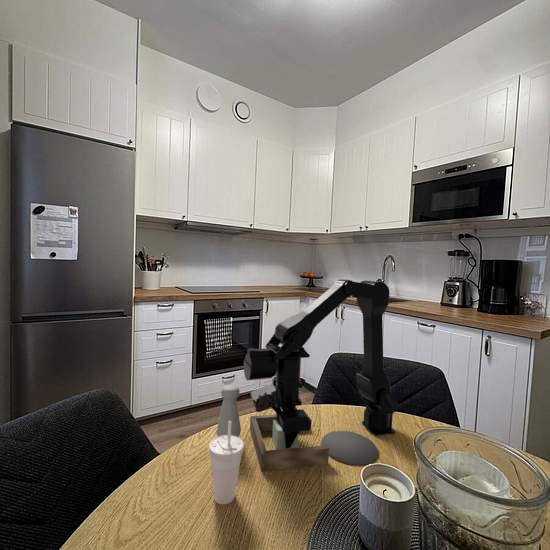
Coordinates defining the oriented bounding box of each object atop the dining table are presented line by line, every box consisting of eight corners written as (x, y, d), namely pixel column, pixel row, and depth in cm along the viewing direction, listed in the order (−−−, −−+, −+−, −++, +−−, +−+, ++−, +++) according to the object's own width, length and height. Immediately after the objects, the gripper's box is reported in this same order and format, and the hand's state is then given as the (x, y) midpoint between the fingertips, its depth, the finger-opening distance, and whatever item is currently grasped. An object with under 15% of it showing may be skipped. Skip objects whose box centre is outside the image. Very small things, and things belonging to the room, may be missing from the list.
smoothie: (226, 516, 51) (229, 434, 51) (198, 499, 55) (201, 422, 55) (249, 493, 57) (252, 418, 57) (222, 479, 60) (225, 409, 60)
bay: (304, 425, 83) (305, 412, 82) (328, 464, 67) (329, 448, 66) (249, 429, 79) (250, 416, 79) (260, 471, 63) (261, 454, 63)
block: (291, 438, 76) (292, 418, 76) (297, 450, 71) (298, 429, 71) (272, 440, 75) (273, 420, 75) (276, 452, 70) (277, 431, 70)
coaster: (360, 431, 81) (360, 429, 81) (389, 461, 68) (389, 459, 68) (313, 434, 78) (313, 432, 78) (334, 467, 65) (334, 465, 65)
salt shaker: (238, 448, 71) (240, 392, 71) (213, 446, 71) (216, 391, 71) (241, 434, 77) (244, 382, 76) (218, 433, 77) (221, 381, 77)
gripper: (248, 364, 80) (246, 423, 80) (261, 393, 62) (257, 470, 62) (290, 363, 82) (287, 420, 83) (313, 391, 64) (310, 464, 64)
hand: (284, 441), depth 73 cm, fingers closed on block, 5 cm apart
